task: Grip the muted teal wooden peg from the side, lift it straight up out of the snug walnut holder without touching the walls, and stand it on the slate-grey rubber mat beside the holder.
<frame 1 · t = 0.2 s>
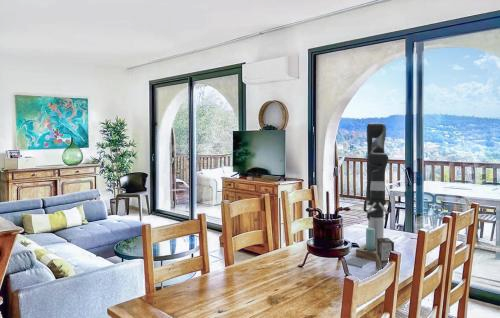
hand: (377, 220, 213), 22 cm above the table, tool pointing down, fingers open, 8 cm apart
walnut holder: (370, 256, 223), on the table
teal peg: (370, 255, 223), point 1 cm above the table, touching walnut holder
coffee box: (384, 272, 198), on the table
slate mat: (356, 262, 212), on the table
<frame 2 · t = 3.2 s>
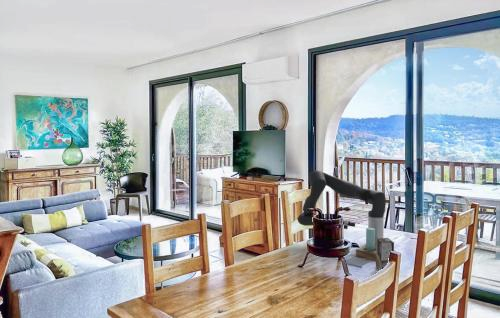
hand: (351, 226, 230), 15 cm above the table, tool horizontal, fingers open, 8 cm apart
nothing on the table moved.
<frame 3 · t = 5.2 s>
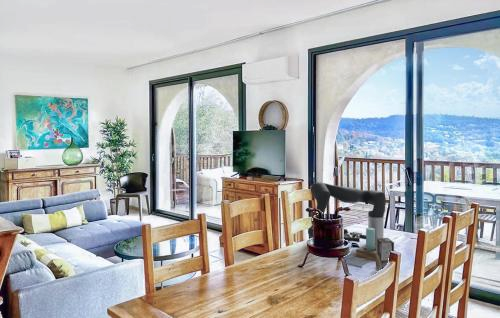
hand: (363, 239, 225), 9 cm above the table, tool horizontal, fingers open, 8 cm apart
nothing on the table moved.
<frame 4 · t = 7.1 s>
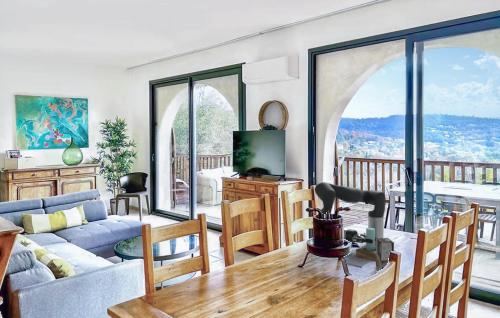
hand: (374, 240, 221), 9 cm above the table, tool horizontal, fingers closed on teal peg, 4 cm apart
teal peg: (370, 255, 223), point 1 cm above the table, touching gripper, walnut holder
everything else where it was.
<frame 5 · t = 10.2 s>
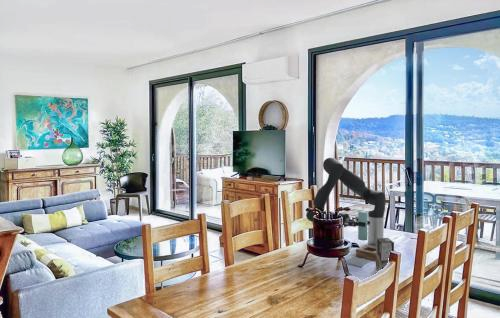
hand: (367, 223, 214), 20 cm above the table, tool horizontal, fingers closed on teal peg, 4 cm apart
teal peg: (362, 239, 217), point 11 cm above the table, touching gripper
everything else where it was.
when the fingers open (11 cm above the table, at t = 13.3 s): teal peg stays where it is, resting on slate mat.
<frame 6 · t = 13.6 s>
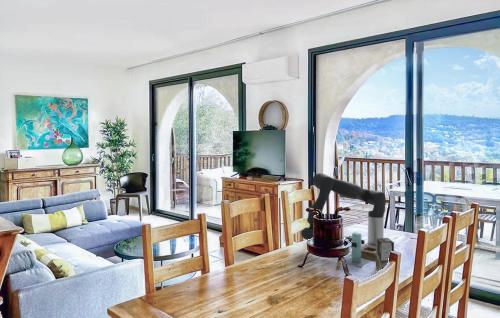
hand: (360, 243, 210), 11 cm above the table, tool horizontal, fingers open, 7 cm apart
teal peg: (356, 261, 213), point 1 cm above the table, touching slate mat
everything else where it was.
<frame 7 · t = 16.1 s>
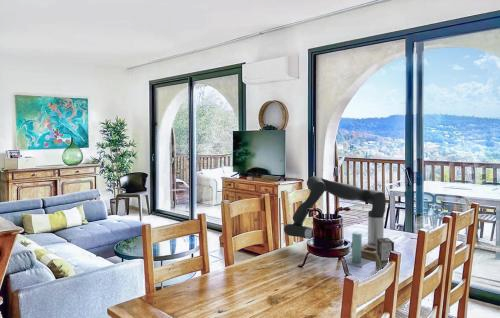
hand: (338, 239, 219), 11 cm above the table, tool horizontal, fingers open, 8 cm apart
nothing on the table moved.
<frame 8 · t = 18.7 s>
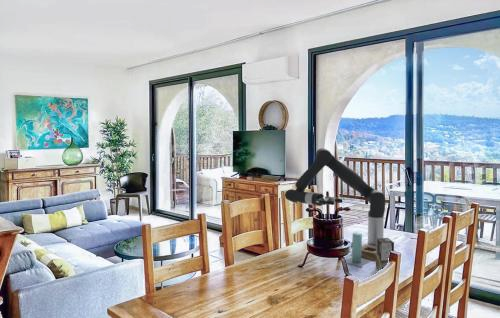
hand: (338, 202, 227), 30 cm above the table, tool horizontal, fingers open, 8 cm apart
nothing on the table moved.
at the end: teal peg inside the target area on the slate mat (0.1 cm from its centre), point 0.7 cm above the slate mat's base; teal peg tilted 1°; the gripper is holding nothing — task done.
